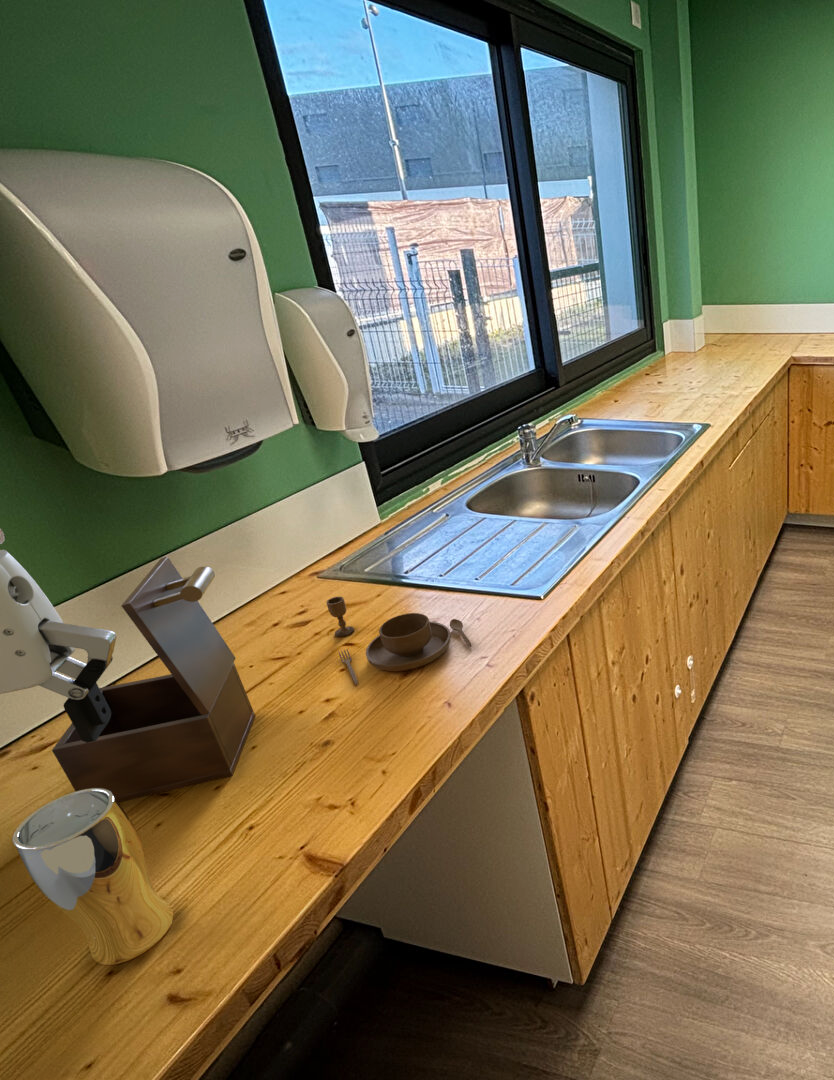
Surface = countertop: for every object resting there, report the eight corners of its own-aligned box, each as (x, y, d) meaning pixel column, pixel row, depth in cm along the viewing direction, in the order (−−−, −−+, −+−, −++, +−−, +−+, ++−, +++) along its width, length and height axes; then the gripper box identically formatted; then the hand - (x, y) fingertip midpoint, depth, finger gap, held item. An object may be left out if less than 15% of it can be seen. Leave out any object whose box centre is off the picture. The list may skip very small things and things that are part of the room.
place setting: (355, 694, 97) (344, 659, 94) (329, 632, 112) (319, 600, 109) (479, 649, 106) (472, 616, 103) (440, 597, 121) (433, 567, 118)
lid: (120, 605, 72) (179, 587, 73) (160, 558, 82) (211, 543, 83) (201, 715, 79) (254, 697, 80) (229, 660, 89) (275, 644, 90)
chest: (85, 810, 79) (51, 750, 75) (126, 743, 89) (97, 688, 85) (232, 775, 83) (206, 717, 80) (255, 716, 93) (233, 661, 90)
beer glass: (86, 930, 66) (11, 814, 59) (175, 887, 70) (115, 773, 63) (86, 987, 61) (5, 866, 54) (183, 937, 65) (118, 819, 58)
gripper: (84, 513, 54) (168, 693, 61) (-213, 555, 49) (-82, 744, 56) (34, 554, 47) (135, 749, 55) (-314, 606, 42) (-151, 812, 50)
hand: (25, 746), depth 55 cm, fingers open, 9 cm apart
